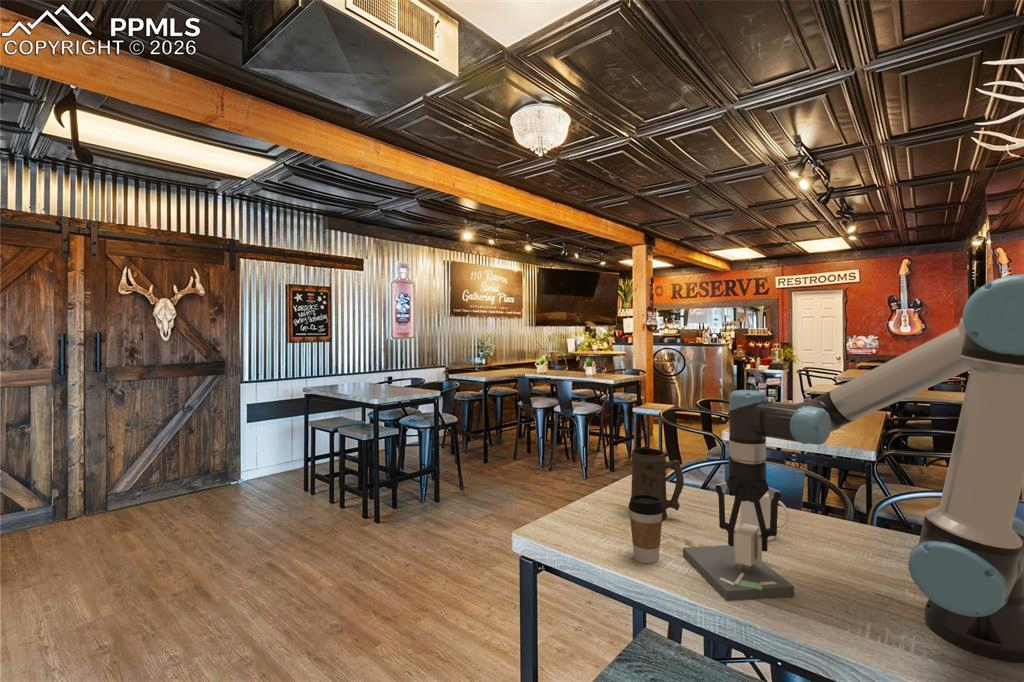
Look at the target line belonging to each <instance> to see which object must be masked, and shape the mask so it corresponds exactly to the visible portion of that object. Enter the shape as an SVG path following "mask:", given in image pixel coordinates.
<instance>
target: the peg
mask: <svg viewBox="0 0 1024 682" xmlns="http://www.w3.org/2000/svg"><path fill="white" fill-rule="evenodd" d="M757 533H759V527H758V526H754V525H750V524H745V523H744V524H743V525H742V526H741V527H739V528H738V529H737V532H736V533H735V562H737V563H741V564H743V569H744V570H746V571H751V566H752V564H753V563H754V561H755V560H756V558H757ZM744 575H745V574H743V573H741V574H740V575H739V577H738V578H737V579H736V581H735V582H734V584H735V585H738V584H739V582H740V581H741V580H742V578H743V577H744Z"/></svg>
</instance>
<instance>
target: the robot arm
mask: <svg viewBox="0 0 1024 682" xmlns="http://www.w3.org/2000/svg"><path fill="white" fill-rule="evenodd" d="M968 371H969V375H968V379H967V383H966V387H965V391H964V396H963V402H962V405H961V408H960V409H961V410H960V413H959V418H958V423H957V426H956V432H955V436H954V440H953V445H952V450H951V454H950V458H949V462H948V467H947V472H946V475H945V481H944V485H943V489H942V493H941V498H940V502H939V505H938V506H936V507H933V508H929V509H927V510H926V511H925V514H924V518H923V522H922V528H921V532H920V536H919V539H918V544H917V545H915V546H914V547H913V548H912V550H911V551H910V553H909V557H908V564H907V565H908V572H909V574H910V577H911V579H912V581H913V583H914V584H915V585H916V586H917V589H919V590H920V592H921V593H922V594H923V595H924V596H925V597H926V598H927V599H928V600H927V602H926V603H925V605H924V620H925V624H927V626H928V627H929V628H930V629H931V630H932V631H933V632H934V633H936V634H937V635H939V636H940V637H942V638H943V639H945V640H947V641H948V642H950V643H952V644H954V645H956V646H959V647H960V648H963V649H965V650H967V651H970V652H972V653H975V654H978V655H982V656H985V657H989V658H992V659H997V660H1002V661H1007V662H1013V663H1014V662H1017V663H1019V662H1020V663H1024V520H1022V519H1020V518H1019V517H1017V516H1016V515H1015V514H1016V512H1017V507H1018V504H1019V500H1020V496H1021V492H1022V487H1023V484H1024V273H1021V274H1018V273H1017V274H1011V275H1010V274H1009V275H1006V276H1003V277H999V278H996V279H993V280H991V281H990V282H987V283H985V284H984V285H982V286H981V287H979V288H978V289H977V290H975V291H974V293H973V294H971V296H970V297H969V298H968V300H967V301H966V302H965V305H964V308H963V312H962V317H961V318H960V319H959V323H958V325H957V326H956V327H954V328H953V329H950V330H947V331H946V332H944V333H941V334H940V335H938V336H936V337H934V338H932V339H930V340H928V341H926V342H924V343H923V344H920V345H919V346H917V347H914V348H912V349H910V350H909V351H906V352H904V353H903V354H900V355H899V356H896V357H894V358H892V359H891V360H888V361H886V362H885V363H883V364H881V365H878V366H876V367H874V368H872V369H870V370H869V371H867V372H865V373H863V374H860V375H859V376H857V377H854V378H852V379H851V380H849V381H847V382H845V383H843V384H841V385H839V386H837V387H835V388H833V389H832V390H830V391H827V392H824V393H822V394H821V395H819V396H817V397H815V398H813V399H810V400H806V401H802V402H796V403H793V404H792V403H791V404H788V403H779V402H771V401H768V399H767V395H766V393H765V392H763V391H761V390H760V391H759V390H752V389H751V390H750V389H749V390H748V389H739V390H738V389H737V390H733V391H732V392H730V394H729V401H728V410H727V411H728V426H729V427H728V431H729V432H728V433H729V434H728V456H729V457H730V458H729V460H728V477H727V479H726V481H724V482H722V483H720V482H716V483H715V488H714V489H715V492H716V493H717V496H718V517H719V518H718V520H719V523H718V524H719V528H720V529H721V530H725V531H726V532H727V545H729V546H733V547H734V563H737V562H735V533H736V532H737V531H738V529H736V524H737V520H738V516H739V512H740V509H741V501H749V502H753V503H754V506H755V510H756V514H757V518H758V522H759V527H760V531H761V533H757V562H758V567H762V562H763V560H762V559H763V558H762V557H763V555H762V554H763V552H767V551H768V541H767V539H768V537H769V536H775V537H777V534H778V528H777V524H778V515H779V514H778V513H779V512H778V509H779V508H778V506H779V504H778V502H779V501H780V500H781V497H782V494H781V490H780V489H778V488H773V487H770V486H769V484H768V482H767V463H766V462H765V460H767V438H771V439H772V438H774V439H778V440H784V441H790V442H794V443H795V442H797V443H800V444H804V445H807V444H809V445H817V446H818V445H820V446H821V445H824V444H826V442H827V440H828V439H829V437H830V435H831V432H832V433H833V432H834V431H837V430H839V429H841V428H842V427H844V426H846V425H847V424H850V423H852V422H854V421H856V420H858V419H861V418H863V417H866V416H868V415H870V414H873V413H875V412H877V411H880V410H881V409H883V408H887V407H889V406H890V405H893V404H895V403H897V402H899V401H902V400H904V399H907V398H908V397H911V396H913V395H916V394H918V393H921V392H922V391H925V390H927V389H929V388H931V387H934V386H935V385H938V384H941V383H943V382H946V381H948V380H949V379H952V378H954V377H957V376H959V375H960V374H963V373H966V372H968ZM727 489H729V490H730V492H731V494H732V495H733V496H734V500H733V504H732V509H731V512H730V517H729V521H728V522H727V521H726V506H725V505H726V503H725V502H726V500H725V498H726V497H725V494H726V493H727ZM766 492H768V493H769V497H770V498H771V509H770V528H767V529H766V525H765V521H764V517H763V513H762V509H761V504H760V499H761V498H762V497H763V496H764V495H765V493H766Z"/></svg>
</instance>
